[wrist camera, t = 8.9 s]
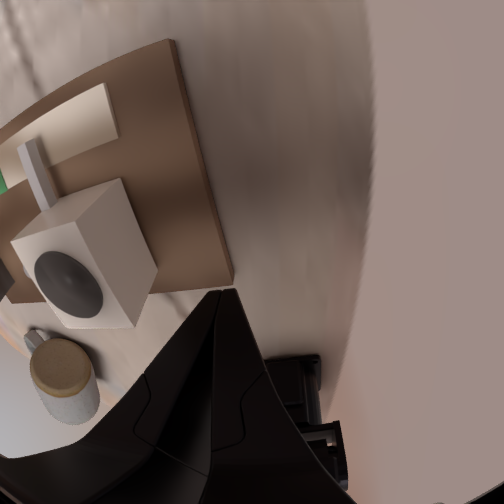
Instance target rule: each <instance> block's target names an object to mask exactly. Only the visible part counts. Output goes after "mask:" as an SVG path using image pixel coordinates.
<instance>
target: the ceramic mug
mask: <svg viewBox="0 0 504 504" xmlns="http://www.w3.org/2000/svg"><path fill="white" fill-rule="evenodd" d="M24 340H25V343H26V345H27V348H28V350H29V351H30V353H31V355H32V357H31V360H30V373H31V378H32V381H33V384H34V386H35V388H36V390H37V392H38V394H39V396H40V397H41V400H42V402H43V404H44V405H45V407H46V409H47V410H48V412H49V413H50V414H51V415H52V416H53V417H54V418H55V419H57V420H58V421H60V422H62V423H66V424H69V425H79V424H83V423H85V422H87V421H89V420H90V419H91V418H92V417H93V416H94V415H95V414H96V412H97V410H98V407H99V403H100V394H99V390H98V386H97V382H96V378H95V373H94V369H93V366H92V363H91V361H90V359H89V357H88V355H87V354H86V353H85V351H84V350H83V349H82V348H81V347H80V346H78V345H77V344H76V343H74V342H72V341H69V340H66V339H60V338H55V339H50V340H47V341H44V340H43V338H42V337H41V336H40V335H39V334H38V333H37V332H36V331H35V330H31V331H29V332H28V333H27V334H25V335H24Z"/></svg>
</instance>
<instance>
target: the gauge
mask: <svg viewBox="0 0 504 504" xmlns="http://www.w3.org/2000/svg"><path fill="white" fill-rule="evenodd" d="M17 151H18V154H19V156H20V159H21V162H22V165H23V168H24V171H25V173H26V176H27V178H28V181H29V184H30V186H31V189H32V191H33V193H34V196H35V198H36V200H37V203H38V205H39V207H40V209H41V213H40V214H39V215H38V216H36V217H35V218H34V219H33V220H32V221H31V222H30V223H29V224H28V225H27V226H26V227H25V228H24V229H23V230H22V231H21V232H20V233H19V234H18V235H17V236H16V237H15V238H14V239H13V240H12V241H11V244H12V246H13V248H14V250H15V251H16V253H17V255H18V257H19V259H20V260H21V262H22V264H23V269H24V272H25V274H26V275H27V277H29V278H31V279H32V280H33V282H34V283H35V285H36V286H37V288H38V289H39V291H40V292H41V294H42V295H43V297H44V298H45V300H46V301H47V303H48V304H49V305H50V307H51V308H52V310H53V311H54V312H55V314H56V315H57V317H58V318H59V319H60V321H61V322H62V323H63V324H64V326H65V327H66V328H72V329H118V328H135V326H136V324H137V321H138V319H139V316H140V313H141V311H142V308H143V306H144V303H145V301H146V298H147V296H148V293H149V291H150V289H151V286H152V284H153V281H154V279H155V277H156V274H157V272H158V269H157V267H156V265H155V263H154V260H153V258H152V256H151V254H150V251H149V249H148V247H147V244H146V242H145V240H144V237H143V235H142V233H141V230H140V228H139V225H138V223H137V220H136V218H135V215H134V213H133V210H132V208H131V205H130V203H129V200H128V197H127V195H126V192H125V189H124V187H123V184H122V181H121V178H118V179H114V180H111V181H108V182H105V183H102V184H99V185H96V186H93V187H90V188H87V189H84V190H81V191H78V192H75V193H72V194H70V195H67V196H64V197H62V198H59V199H56V197H55V194H54V192H53V190H52V187H51V185H50V182H49V180H48V177H47V174H46V172H45V169H44V166H43V164H42V161H41V158H40V155H39V152H38V149H37V146H36V143H35V140H34V138H33V139H31V140H29V141H27V142H25V143H23V144H22V145H20V146H19V147H17Z"/></svg>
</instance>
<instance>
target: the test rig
mask: <svg viewBox="0 0 504 504" xmlns="http://www.w3.org/2000/svg"><path fill="white" fill-rule="evenodd" d="M33 138H34V140H35V143H36V146H37V149H38V152H39V155H40V158H41V161H42V164H43V166H44V169H45V172H46V174H47V177H48V180H49V182H50V185H51V187H52V190H53V192H54V194H55V197H56V199H59V198H62V197H64V196H67V195H70V194H72V193H75V192H78V191H81V190H84V189H87V188H90V187H93V186H96V185H99V184H102V183H105V182H108V181H111V180H114V179H118V178H121V181H122V184H123V187H124V189H125V192H126V195H127V197H128V200H129V203H130V205H131V208H132V210H133V213H134V215H135V218H136V220H137V223H138V225H139V228H140V230H141V233H142V235H143V237H144V240H145V242H146V244H147V247H148V249H149V251H150V254H151V256H152V258H153V260H154V263H155V265H156V267H157V269H158V272H157V274H156V277H155V279H154V281H153V284H152V286H151V289H150V291H149V293H148V294H153V293H164V292H174V291H183V290H193V289H202V288H211V287H220V286H229V285H233V281H234V272H233V268H232V265H231V261H230V258H229V254H228V251H227V247H226V244H225V240H224V236H223V233H222V229H221V225H220V222H219V218H218V214H217V211H216V207H215V203H214V200H213V196H212V192H211V188H210V185H209V181H208V177H207V173H206V169H205V165H204V162H203V158H202V154H201V150H200V146H199V142H198V138H197V134H196V130H195V126H194V122H193V118H192V114H191V110H190V106H189V102H188V98H187V94H186V89H185V85H184V81H183V77H182V72H181V68H180V64H179V60H178V55H177V51H176V46H175V42H174V40H171V39H165V40H162V41H159V42H156V43H153V44H151V45H148V46H145V47H142V48H140V49H137V50H135V51H132V52H130V53H127V54H125V55H123V56H120V57H118V58H116V59H114V60H111V61H109V62H107V63H105V64H103V65H101V66H99V67H97V68H95V69H93V70H91V71H89V72H87V73H85V74H83V75H81V76H79V77H77V78H75V79H74V80H72V81H70V82H68V83H67V84H65V85H63V86H62V87H60V88H58V89H57V90H55V91H53V92H52V93H50V94H49V95H47V96H45V97H44V98H42V99H41V100H39V101H38V102H36V103H35V104H33V105H32V106H31V107H29V108H28V109H26V110H25V111H23V112H22V113H21V114H19V115H18V116H17V117H15V118H14V119H13V120H11V121H10V122H9V123H8V124H6V125H5V126H4V127H3V128H1V129H0V301H1V300H2V299H3V297H4V296H5V295H6V296H7V297H8V299H9V300H10V302H11V303H12V304H14V303H34V302H47V301H46V300H45V298H44V297H43V295H42V294H41V292H40V291H39V289H38V288H37V286H36V285H35V283H34V282H33V280H32V279H31V278H29V277H27V275H26V274H25V272H24V269H23V264H22V262H21V260H20V259H19V257H18V255H17V253H16V251H15V250H14V248H13V246H12V244H11V241H12V240H13V239H14V238H15V237H16V236H17V235H18V234H19V233H20V232H21V231H22V230H23V229H24V228H25V227H26V226H27V225H28V224H29V223H30V222H31V221H32V220H33V219H34V218H35V217H36V216H38V215H39V214H40V213H41V209H40V207H39V205H38V203H37V200H36V198H35V196H34V193H33V191H32V189H31V186H30V184H29V181H28V178H27V176H26V173H25V171H24V168H23V165H22V162H21V159H20V156H19V154H18V151H17V147H19V146H20V145H22V144H23V143H25V142H27V141H29V140H31V139H33Z"/></svg>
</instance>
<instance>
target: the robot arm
mask: <svg viewBox="0 0 504 504" xmlns="http://www.w3.org/2000/svg"><path fill="white" fill-rule="evenodd" d="M320 386H321V358H320V356H318V355H313V356H306V357H298V358H290V359H281V360H271V361H263V358H262V356H261V353H260V351H259V348H258V345H257V343H256V340H255V338H254V335H253V332H252V330H251V327H250V325H249V322H248V319H247V317H246V314H245V311H244V309H243V306H242V303H241V301H240V298H239V295H238V292H237V290H236V289H235V288H231V289H224V290H223V291H222V290H213V291H209V292H207V294H206V295H205V296H204V297H203V299H202V300H201V301H200V302H199V303H198V305H197V306H196V307H195V308H194V310H193V311H192V312H191V313H190V315H189V316H188V317H187V318H186V320H185V321H184V322H183V323H182V325H181V326H180V327H179V328H178V330H177V331H176V332H175V333H174V335H173V336H172V337H171V338H170V340H169V341H168V342H167V343H166V345H165V346H164V347H163V348H162V350H161V351H160V352H159V353H158V355H157V356H156V357H155V358H154V360H153V361H152V362H151V363H150V365H149V366H148V367H147V368H146V370H145V371H144V374H141V376H140V377H139V378H138V380H137V381H136V382H135V383H134V384H133V386H132V387H131V388H130V389H129V390H128V392H127V393H126V394H125V395H124V396H123V397H122V398H121V399H120V401H119V402H118V403H117V404H116V405H115V406H114V407H113V408H112V409H111V410H110V411H109V412H108V413H107V414H106V415H105V416H104V417H103V418H102V419H101V420H100V421H99V422H98V423H97V424H96V425H95V426H94V427H93V428H92V430H91V431H90V432H89V433H87V434H86V435H85V436H84V437H83V438H82V439H80V440H79V441H77V442H75V443H73V444H71V445H68V446H65V447H61V448H58V449H54V450H50V451H46V452H42V453H38V454H34V455H30V456H25V457H20V458H7V457H5V456H3V455H2V454H0V504H357V503H356V502H355V501H354V500H353V499H352V498H351V497H350V496H349V495H348V494H347V493H346V492H345V491H347V490H348V470H347V462H346V455H345V449H344V443H343V438H342V432H341V427H340V421H339V420H338V421H333V422H332V423H326V424H322V419H321V410H320V401H319V393H318V391H319V390H320ZM327 443H332V446H327ZM436 504H443V503H436ZM465 504H504V481H503V482H502V483H500V484H498V485H497V486H495V487H493V488H492V489H490V490H489V491H487V492H485V493H483V494H482V495H480V496H478V497H476V498H474V499H473V500H471V501H469V502H467V503H465Z"/></svg>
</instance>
